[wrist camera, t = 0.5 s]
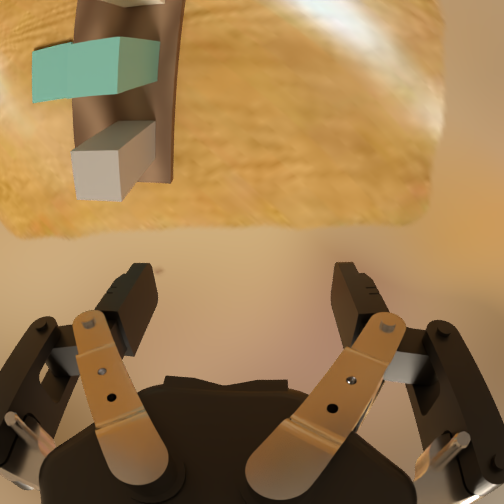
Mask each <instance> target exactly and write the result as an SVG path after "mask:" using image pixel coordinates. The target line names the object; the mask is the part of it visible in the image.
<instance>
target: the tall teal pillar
mask: <svg viewBox="0 0 504 504" xmlns="http://www.w3.org/2000/svg"><path fill="white" fill-rule="evenodd" d="M159 50H160V42H159V41H153V40H146V39H138V38H130V37H112V38H104V39H98V40H91V41H86V42H80V43H75V44H70V45H68V59H67V99H69V98H77V97H86V96H97V95H110V94H119V93H122V92H124V91H127V90H130V89H133V88H136V87H140V86H143V85H146V84H149V83H153V82H156V81H157V77H158V63H159Z"/></svg>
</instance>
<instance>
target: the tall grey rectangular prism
mask: <svg viewBox="0 0 504 504" xmlns="http://www.w3.org/2000/svg"><path fill="white" fill-rule="evenodd" d="M155 128H156V121H117V122H116V123H114V124H112V125H111V126H109V127H107V128H106V129H104V130H102V131H101V132H99V133H98V134H96V135H94V136H93V137H91V138H90V139H88V140H87V141H85V142H84V143H82V144H81V145H79V146H78V147H76V148H75V149H73V150H72V151H71V160H72V168H73V176H74V183H75V190H76V196H77V200H98V201H119V202H122V201H123V199H124V198H125V197H126V195H127V194H128V193H129V191H130V190H131V189H132V187H133V186H134V185H135V183H136V182H137V181H138V180H139V178H140V177H141V176H142V174H143V173H144V172H145V171H146V169H147V168H148V167H149V166H150V164H151V163H152V162H153V161H154V159H155Z"/></svg>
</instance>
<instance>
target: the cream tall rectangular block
mask: <svg viewBox="0 0 504 504" xmlns="http://www.w3.org/2000/svg"><path fill="white" fill-rule="evenodd" d="M101 1H104V2H108V3H111V4H115V5H118V6H121V7H124V8H125V7H133V6H142V5H153V4H165V0H101Z"/></svg>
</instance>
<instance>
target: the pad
mask: <svg viewBox="0 0 504 504" xmlns="http://www.w3.org/2000/svg"><path fill="white" fill-rule="evenodd" d="M70 44H73V42H69V43H65V44H60V45H56V46H52V47H48V48H44V49H40V50H37V51H33V52H32V99H33V103H37V102H43V101H49V100H56V99H63V98H67V59H68V45H70Z"/></svg>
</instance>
